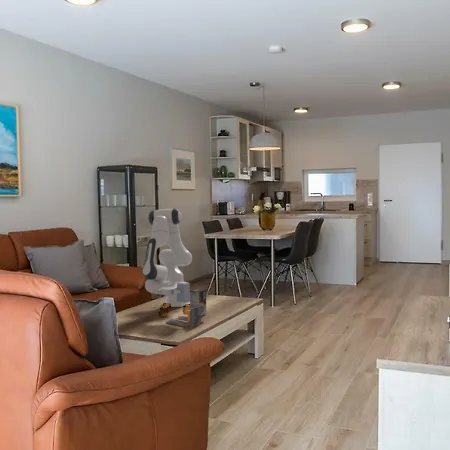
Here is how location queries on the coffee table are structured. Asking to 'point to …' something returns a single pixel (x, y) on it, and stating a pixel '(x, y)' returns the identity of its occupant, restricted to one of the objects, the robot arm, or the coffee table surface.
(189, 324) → the rail dock
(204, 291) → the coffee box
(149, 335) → the coffee table surface
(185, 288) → the block
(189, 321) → the latch clip
